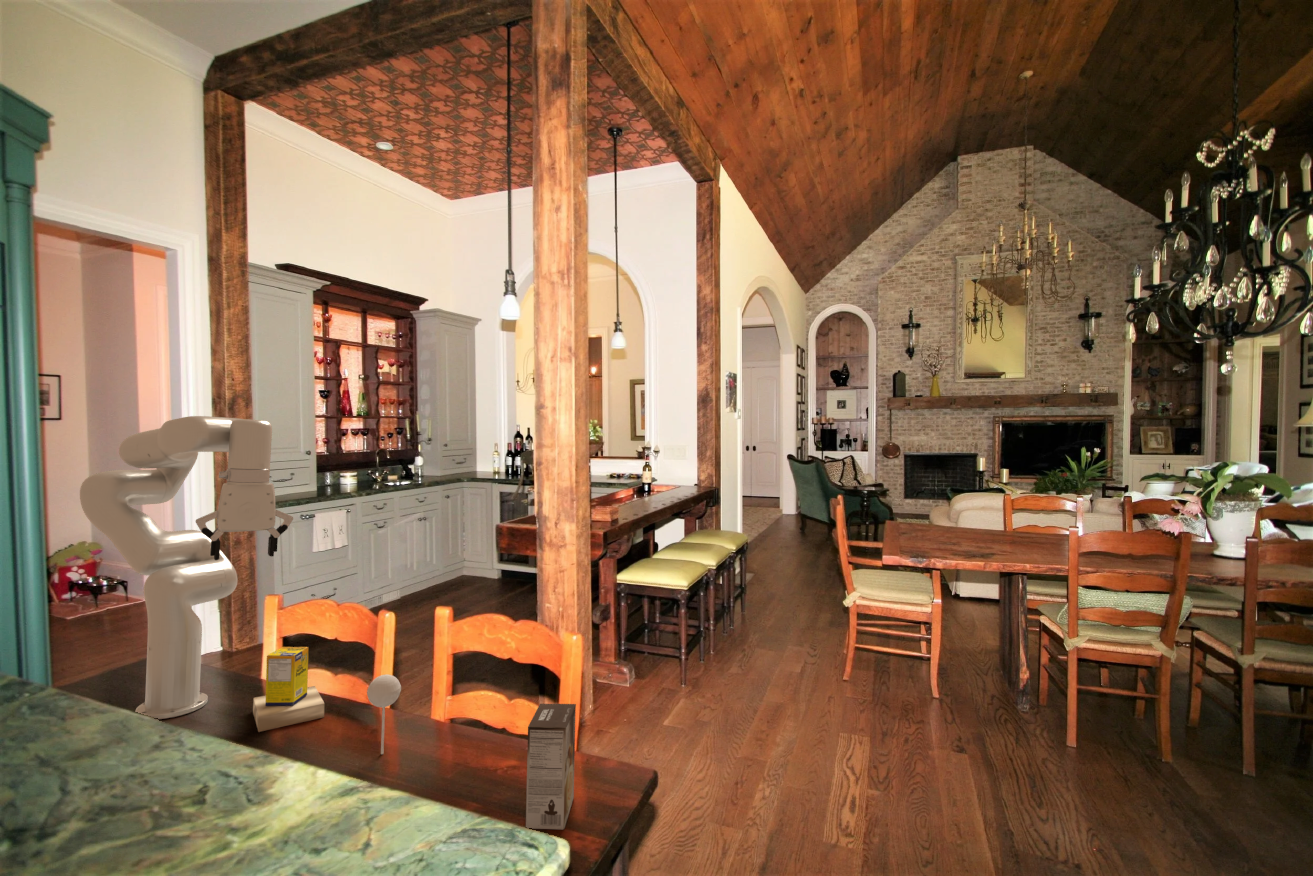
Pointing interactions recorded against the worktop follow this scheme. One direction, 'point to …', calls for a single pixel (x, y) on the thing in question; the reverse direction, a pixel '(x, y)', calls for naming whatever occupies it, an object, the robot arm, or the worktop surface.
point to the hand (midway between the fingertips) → (244, 557)
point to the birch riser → (288, 711)
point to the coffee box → (550, 766)
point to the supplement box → (286, 676)
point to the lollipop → (383, 696)
